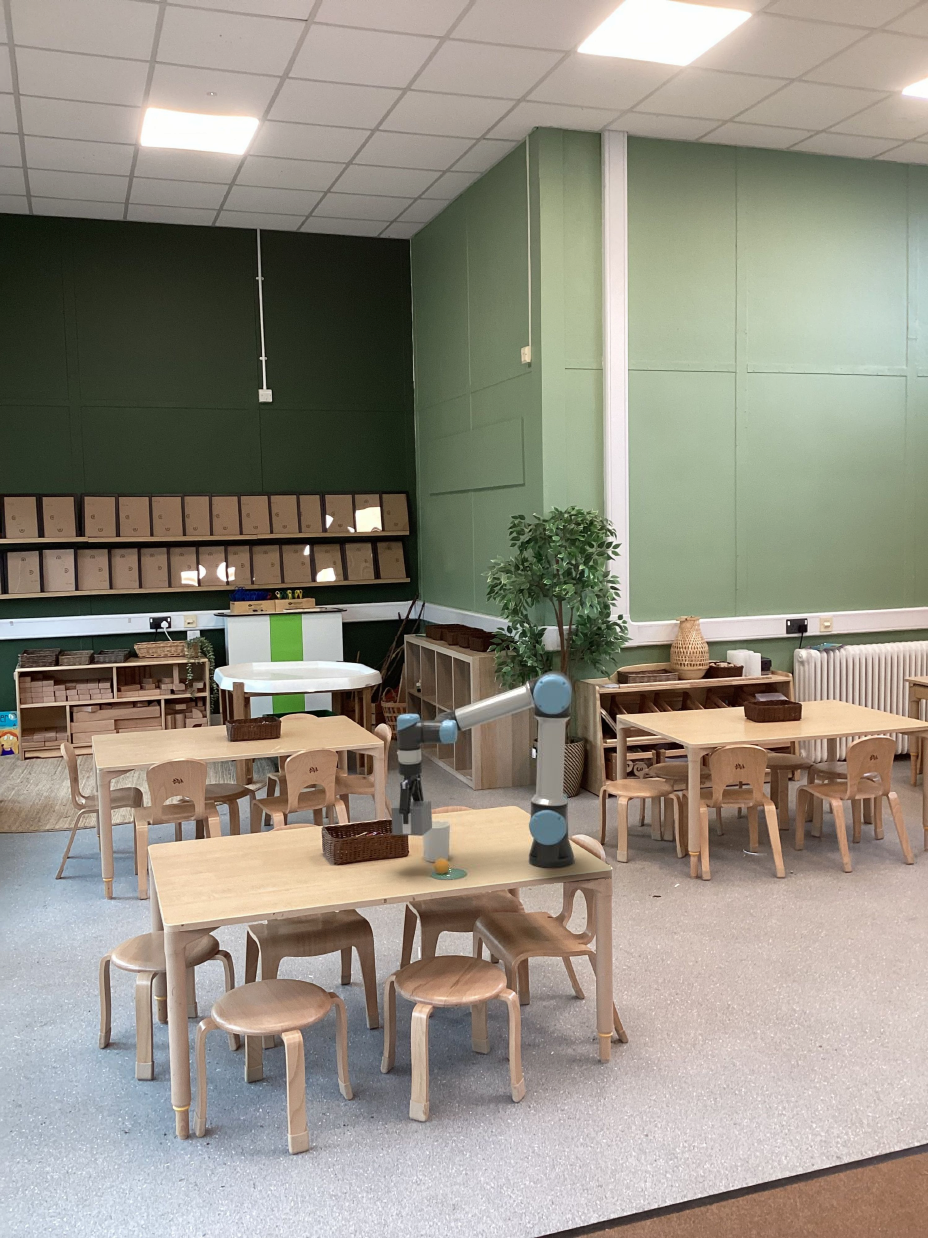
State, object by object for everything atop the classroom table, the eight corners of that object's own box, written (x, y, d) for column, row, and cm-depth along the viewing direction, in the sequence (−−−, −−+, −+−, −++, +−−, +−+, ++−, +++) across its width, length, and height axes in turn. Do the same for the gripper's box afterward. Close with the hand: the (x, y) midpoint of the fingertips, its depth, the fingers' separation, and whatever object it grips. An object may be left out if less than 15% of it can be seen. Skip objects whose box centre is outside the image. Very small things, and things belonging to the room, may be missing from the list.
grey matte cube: (432, 827, 356) (431, 801, 355) (422, 835, 346) (421, 808, 346) (402, 826, 359) (401, 800, 358) (392, 834, 349) (391, 808, 348)
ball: (442, 853, 353) (433, 864, 354) (438, 857, 348) (429, 869, 349) (454, 863, 352) (445, 874, 353) (449, 868, 347) (440, 879, 348)
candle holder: (447, 863, 362) (446, 828, 361) (419, 862, 364) (418, 827, 363) (453, 855, 372) (452, 820, 371) (426, 854, 374) (425, 820, 373)
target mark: (471, 869, 354) (471, 869, 354) (461, 881, 343) (461, 880, 343) (436, 867, 357) (436, 867, 357) (425, 878, 346) (425, 878, 346)
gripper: (410, 755, 363) (413, 819, 364) (386, 769, 341) (389, 838, 342) (431, 755, 361) (434, 820, 362) (409, 769, 339) (412, 838, 340)
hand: (412, 829), depth 352 cm, fingers closed on grey matte cube, 10 cm apart
